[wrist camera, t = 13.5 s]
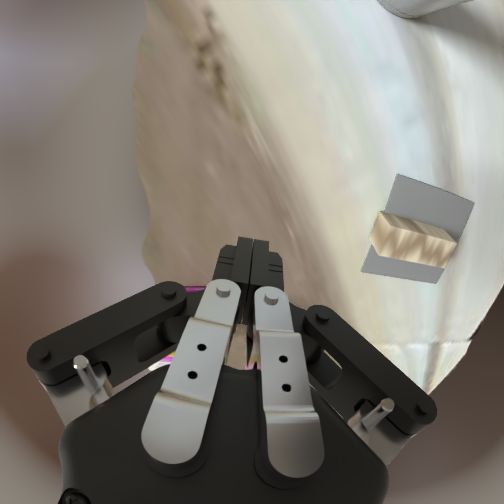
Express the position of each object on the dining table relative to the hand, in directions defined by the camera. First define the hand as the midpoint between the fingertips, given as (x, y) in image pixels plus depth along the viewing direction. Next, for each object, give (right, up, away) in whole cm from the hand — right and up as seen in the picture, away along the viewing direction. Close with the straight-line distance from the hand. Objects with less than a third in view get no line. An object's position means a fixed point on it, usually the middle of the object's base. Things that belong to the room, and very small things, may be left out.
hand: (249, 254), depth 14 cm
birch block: (+19, +3, +25) cm, 32 cm away
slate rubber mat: (+29, +3, +28) cm, 41 cm away
